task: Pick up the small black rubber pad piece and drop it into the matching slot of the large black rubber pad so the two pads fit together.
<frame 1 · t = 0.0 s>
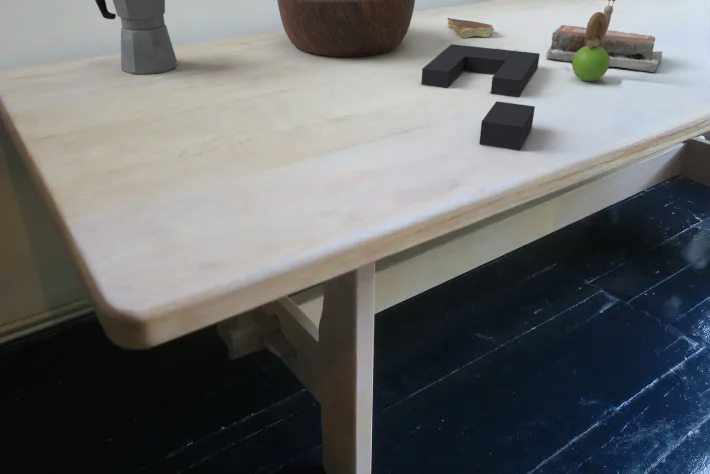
pie slice: (464, 34, 131), on the table
weathered brick: (603, 60, 115), on the table
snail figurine: (588, 80, 105), on the table
base pad: (481, 76, 106), on the table
coffeepot: (144, 67, 110), on the table
wooden bowl: (346, 44, 124), on the table
pad piece: (506, 136, 84), on the table
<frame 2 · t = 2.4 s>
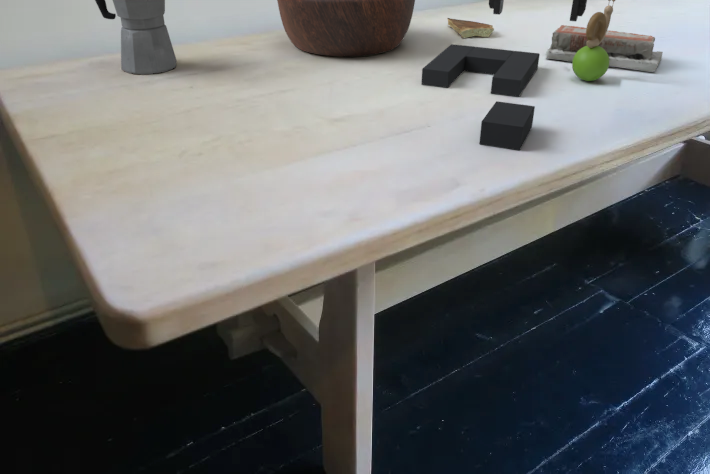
hand: (535, 16, 76), 15 cm above the table, tool pointing down, fingers open, 8 cm apart
nothing on the table moved.
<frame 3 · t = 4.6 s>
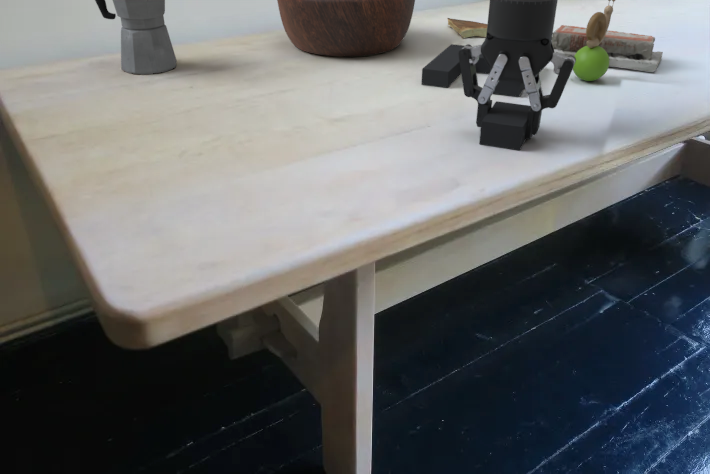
hand: (506, 132, 84), 0 cm above the table, tool pointing down, fingers closed on pad piece, 5 cm apart
pad piece: (506, 136, 84), on the table, touching gripper
everything else where it was.
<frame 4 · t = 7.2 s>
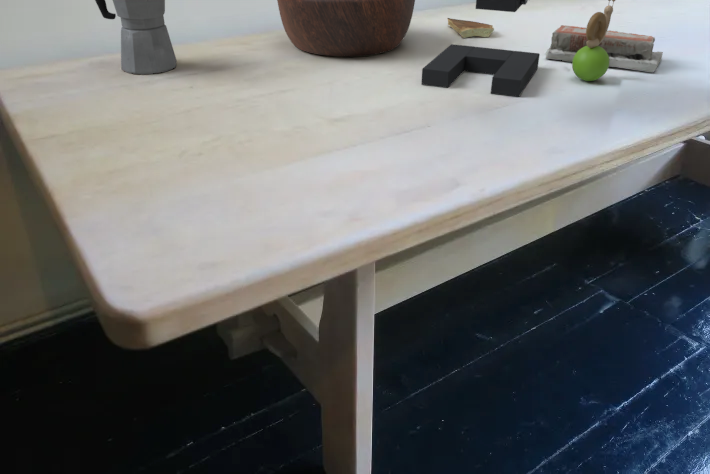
hand: (501, 1, 86), 14 cm above the table, tool pointing down, fingers closed on pad piece, 5 cm apart
pad piece: (501, 4, 86), point 14 cm above the table, touching gripper
everything else where it was.
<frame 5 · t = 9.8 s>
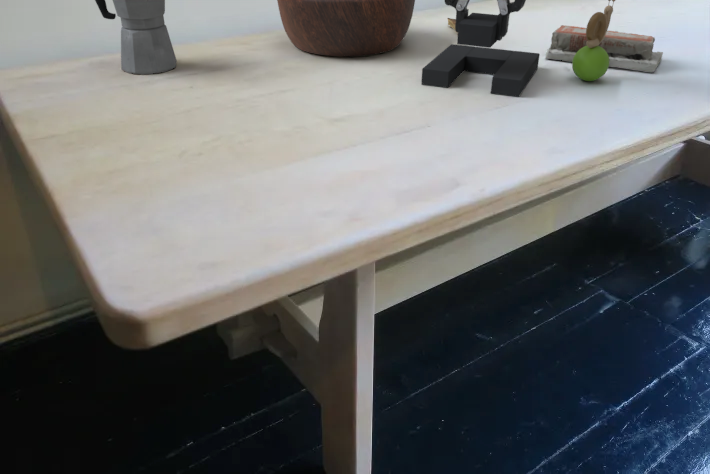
hand: (480, 36, 100), 7 cm above the table, tool pointing down, fingers closed on pad piece, 5 cm apart
pad piece: (480, 39, 100), point 6 cm above the table, touching gripper
everything else where it was.
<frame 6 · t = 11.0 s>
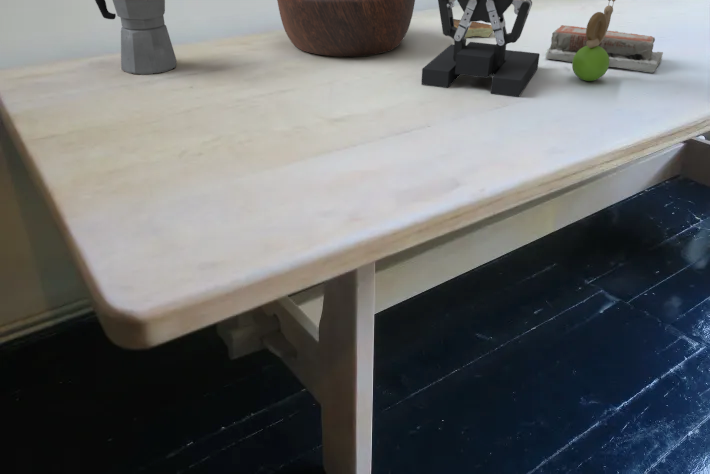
hand: (478, 66, 102), 2 cm above the table, tool pointing down, fingers closed on pad piece, 5 cm apart
pad piece: (477, 68, 103), point 2 cm above the table, touching gripper
everything else where it was.
when the fingers open (3 cm above the table, at t = 14.9 s): pad piece drops 2 cm, resting in base pad.
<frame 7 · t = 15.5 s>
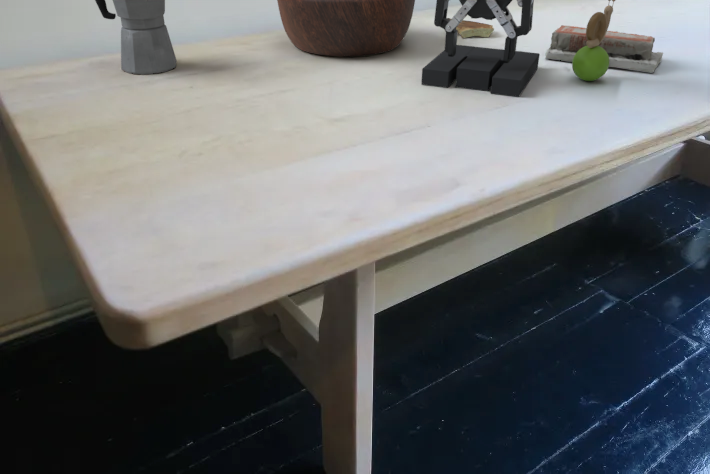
hand: (478, 58, 102), 4 cm above the table, tool pointing down, fingers open, 8 cm apart
pad piece: (477, 81, 104), resting in base pad
everything else where it was.
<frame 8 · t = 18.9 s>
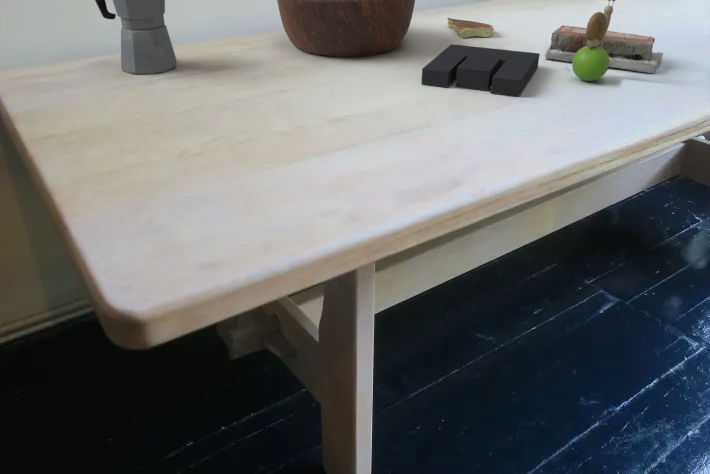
nothing on the table moved.
at the end: pad piece 0.1 cm from the target spot on the base pad, point 0.0 cm above the base pad's base; pad piece tilted 0°; the gripper is holding nothing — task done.
